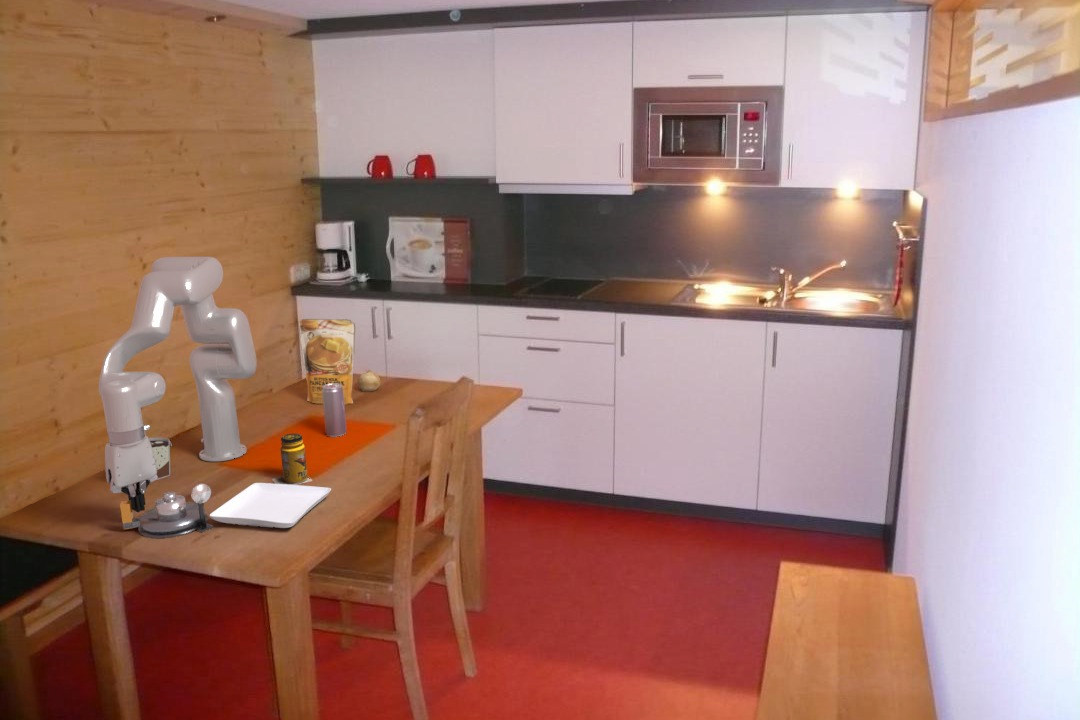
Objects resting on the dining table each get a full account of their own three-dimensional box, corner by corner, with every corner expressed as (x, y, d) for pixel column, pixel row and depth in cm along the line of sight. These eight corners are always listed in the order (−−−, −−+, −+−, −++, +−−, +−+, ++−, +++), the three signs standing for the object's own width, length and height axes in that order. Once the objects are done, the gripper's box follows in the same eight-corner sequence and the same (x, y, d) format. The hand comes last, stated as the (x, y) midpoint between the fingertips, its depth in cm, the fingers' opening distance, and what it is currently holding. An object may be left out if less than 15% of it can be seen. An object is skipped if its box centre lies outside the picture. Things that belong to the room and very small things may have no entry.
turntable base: (126, 527, 211) (126, 525, 211) (187, 506, 222) (187, 504, 222) (158, 544, 201) (158, 542, 201) (220, 521, 212) (220, 519, 212)
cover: (155, 524, 206) (152, 500, 204) (158, 513, 212) (155, 490, 210) (186, 519, 208) (183, 496, 206) (187, 509, 213) (185, 486, 212)
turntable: (119, 540, 202) (115, 515, 201) (128, 516, 215) (124, 491, 214) (203, 529, 207) (200, 504, 205) (207, 505, 220) (204, 482, 218)
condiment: (313, 481, 236) (308, 437, 233) (280, 488, 231) (275, 443, 228) (303, 472, 242) (299, 429, 239) (271, 480, 237) (266, 436, 234)
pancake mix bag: (309, 398, 310) (302, 317, 303) (362, 400, 306) (355, 318, 299) (300, 403, 304) (292, 321, 297) (353, 406, 299) (346, 322, 293)
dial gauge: (191, 530, 208) (185, 485, 205) (209, 523, 211) (203, 479, 208) (198, 533, 206) (192, 488, 203) (216, 527, 209) (210, 482, 207)
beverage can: (327, 431, 274) (323, 383, 271) (347, 430, 275) (343, 382, 271) (324, 438, 268) (320, 389, 265) (345, 437, 269) (341, 388, 265)
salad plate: (334, 498, 224) (333, 485, 224) (293, 535, 204) (292, 521, 204) (255, 493, 229) (254, 481, 228) (208, 529, 209) (206, 515, 208)
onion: (385, 389, 318) (384, 370, 316) (367, 394, 312) (365, 374, 311) (372, 385, 323) (370, 366, 322) (353, 390, 318) (351, 371, 316)
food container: (166, 468, 247) (161, 433, 245) (175, 474, 243) (171, 438, 241) (119, 481, 239) (114, 445, 237) (128, 487, 235) (123, 450, 232)
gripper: (150, 423, 215) (160, 495, 219) (85, 441, 204) (98, 516, 209) (166, 429, 210) (176, 503, 215) (101, 448, 199) (114, 525, 204)
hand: (138, 509), depth 212 cm, fingers closed
